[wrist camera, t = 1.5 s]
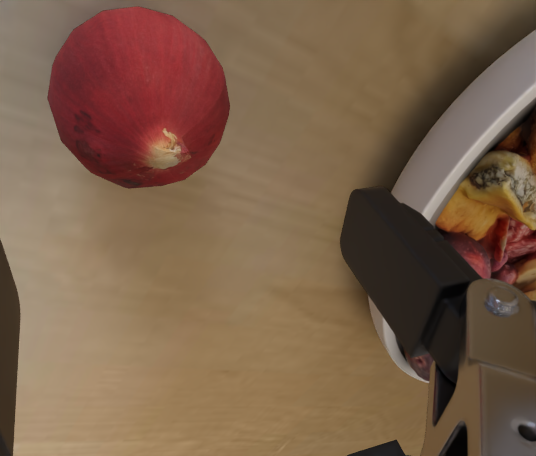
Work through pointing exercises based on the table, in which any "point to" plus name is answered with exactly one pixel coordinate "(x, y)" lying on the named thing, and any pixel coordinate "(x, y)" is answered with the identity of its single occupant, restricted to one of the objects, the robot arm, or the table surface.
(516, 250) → the bowl
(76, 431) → the table surface
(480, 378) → the robot arm
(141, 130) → the onion
